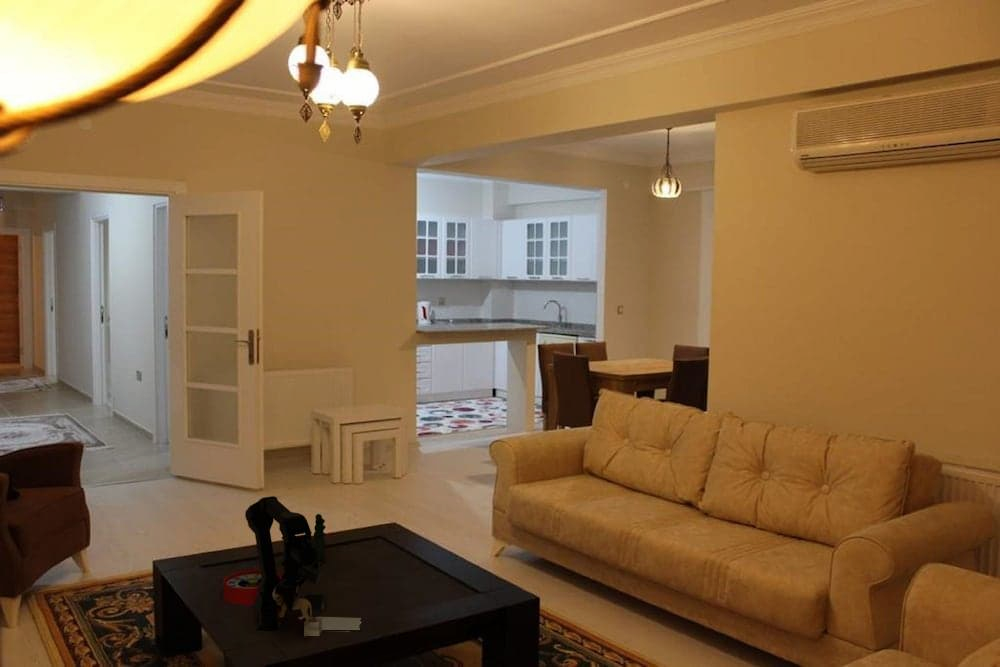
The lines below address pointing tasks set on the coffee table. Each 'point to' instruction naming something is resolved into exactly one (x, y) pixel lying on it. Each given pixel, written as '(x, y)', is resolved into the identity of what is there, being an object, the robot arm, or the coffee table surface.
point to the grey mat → (340, 623)
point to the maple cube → (313, 627)
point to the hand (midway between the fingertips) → (292, 607)
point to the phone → (316, 602)
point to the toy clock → (242, 587)
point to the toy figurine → (319, 538)
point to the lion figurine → (295, 606)
